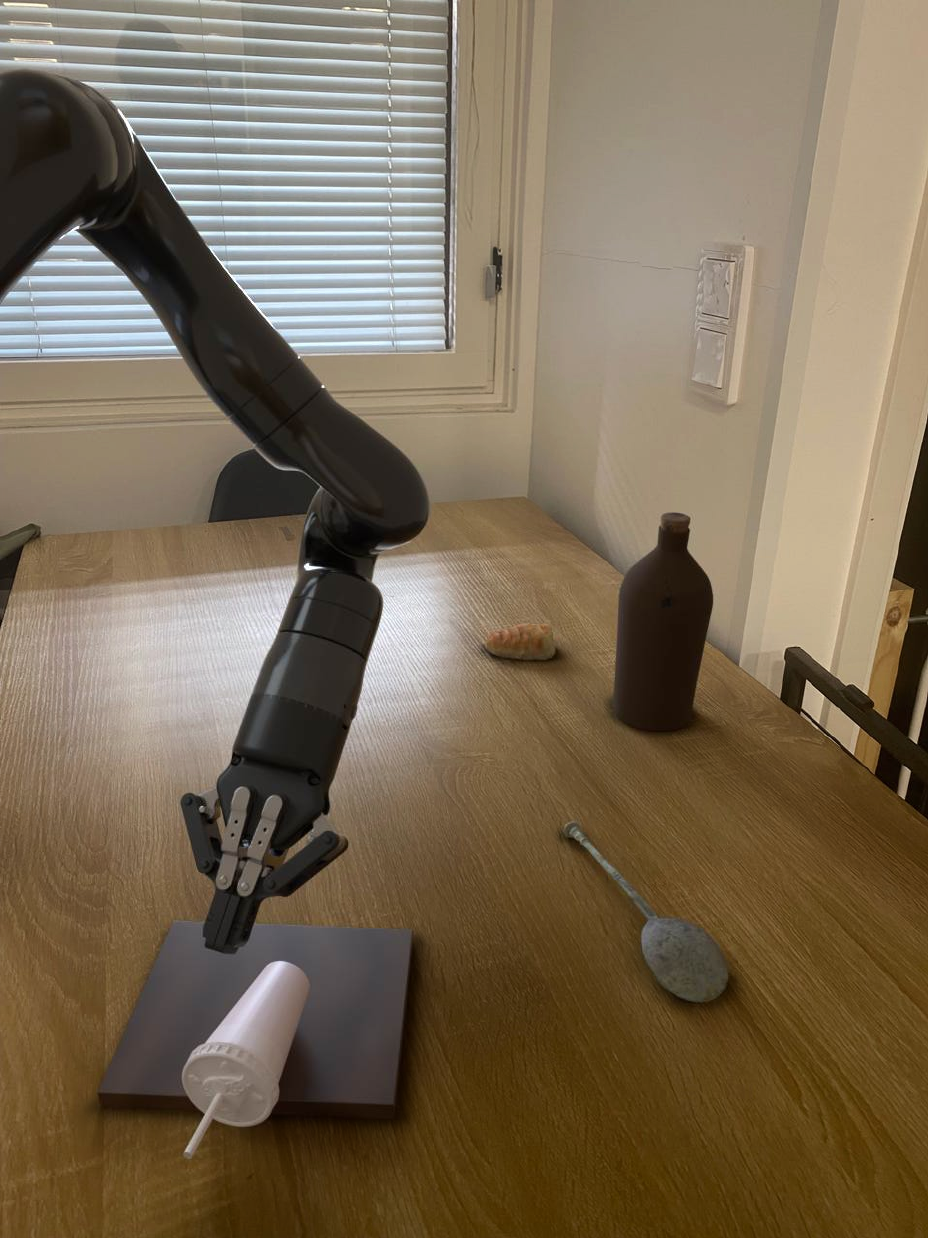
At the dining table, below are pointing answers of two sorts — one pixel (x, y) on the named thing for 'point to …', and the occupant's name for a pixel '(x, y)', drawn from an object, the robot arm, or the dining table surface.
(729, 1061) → the dining table surface
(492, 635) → the pastry
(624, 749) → the dining table surface
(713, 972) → the soupspoon
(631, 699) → the olive oil
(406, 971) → the board
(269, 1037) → the smoothie
